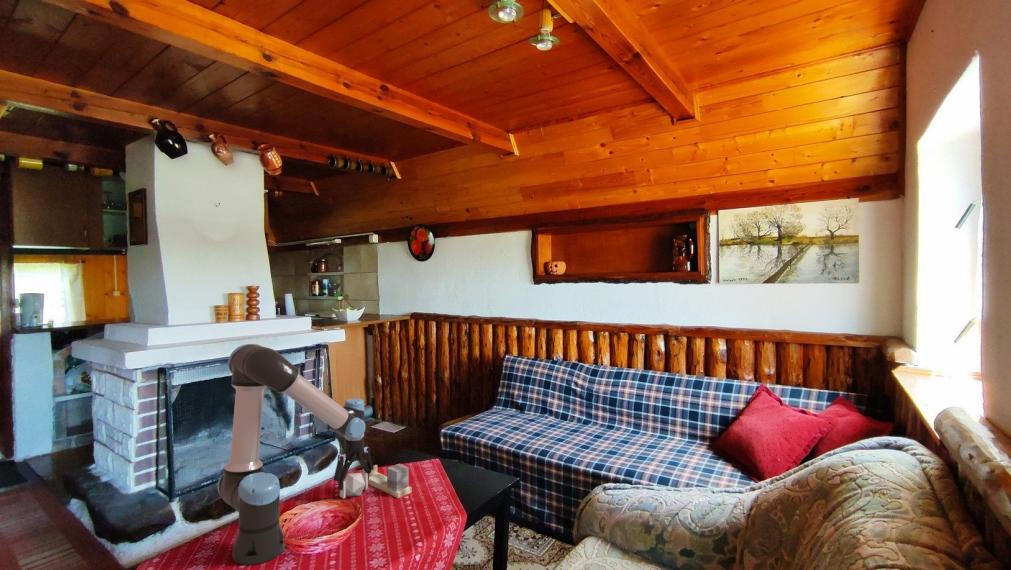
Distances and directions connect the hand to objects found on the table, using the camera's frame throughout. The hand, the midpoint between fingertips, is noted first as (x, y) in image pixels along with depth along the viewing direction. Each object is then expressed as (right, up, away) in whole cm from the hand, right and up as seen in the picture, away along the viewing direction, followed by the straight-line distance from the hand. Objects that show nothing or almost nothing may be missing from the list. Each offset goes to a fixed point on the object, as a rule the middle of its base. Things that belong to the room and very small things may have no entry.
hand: (354, 492), depth 199 cm
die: (0, -1, 0) cm, 1 cm away
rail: (+11, -1, +8) cm, 14 cm away
